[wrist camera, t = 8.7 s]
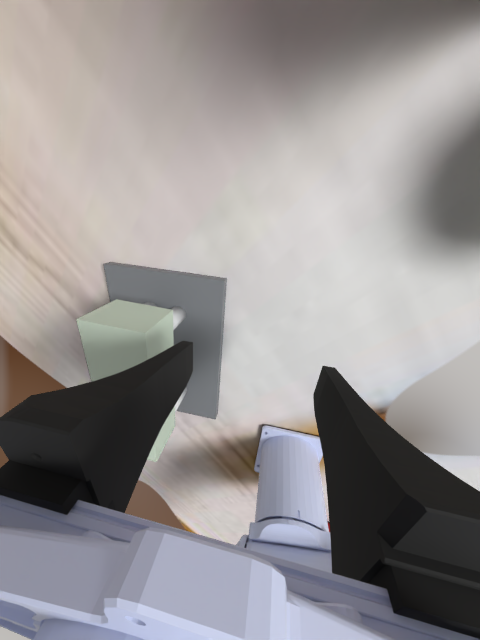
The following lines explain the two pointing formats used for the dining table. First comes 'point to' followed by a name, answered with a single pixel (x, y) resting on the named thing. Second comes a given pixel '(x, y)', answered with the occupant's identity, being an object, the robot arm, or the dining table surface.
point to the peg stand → (182, 322)
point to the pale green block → (127, 345)
